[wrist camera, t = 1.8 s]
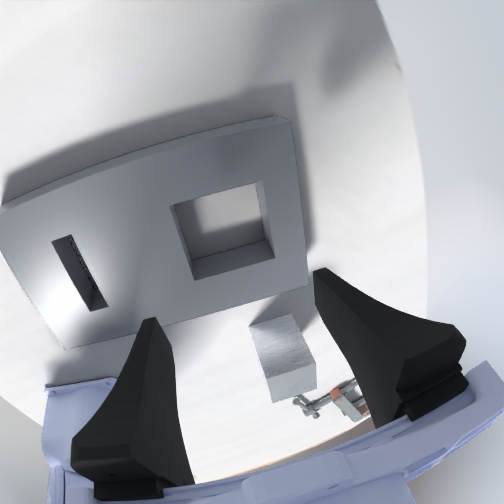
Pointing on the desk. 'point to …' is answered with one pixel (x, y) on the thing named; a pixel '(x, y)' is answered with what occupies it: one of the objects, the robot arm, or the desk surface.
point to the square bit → (284, 357)
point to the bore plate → (156, 234)
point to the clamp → (338, 404)
